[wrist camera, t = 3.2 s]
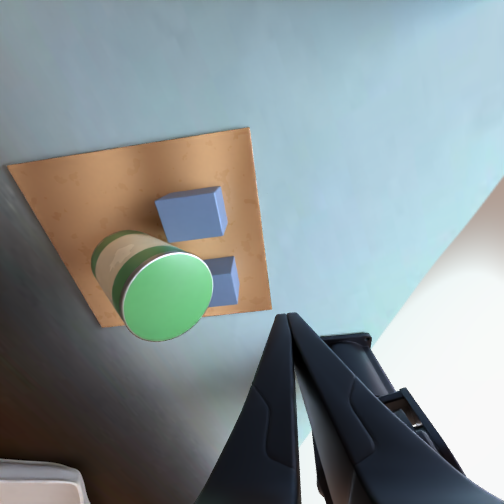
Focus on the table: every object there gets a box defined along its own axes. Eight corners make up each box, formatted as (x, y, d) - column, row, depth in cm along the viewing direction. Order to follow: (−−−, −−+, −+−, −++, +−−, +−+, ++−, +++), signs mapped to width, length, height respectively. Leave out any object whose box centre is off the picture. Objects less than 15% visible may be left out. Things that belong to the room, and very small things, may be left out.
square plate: (-27, 505, 44) (-51, 536, 41) (-90, 438, 33) (-131, 473, 29) (107, 514, 46) (96, 544, 43) (92, 455, 35) (75, 489, 31)
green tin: (217, 212, 17) (183, 270, 9) (228, 266, 19) (210, 354, 11) (109, 226, 17) (-22, 294, 9) (131, 278, 20) (43, 370, 11)
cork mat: (249, 127, 15) (249, 126, 14) (271, 307, 21) (271, 309, 21) (11, 165, 16) (5, 165, 15) (104, 325, 23) (102, 327, 22)
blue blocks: (220, 185, 16) (214, 192, 13) (239, 283, 20) (237, 304, 17) (170, 192, 16) (153, 200, 13) (198, 288, 20) (189, 310, 17)
